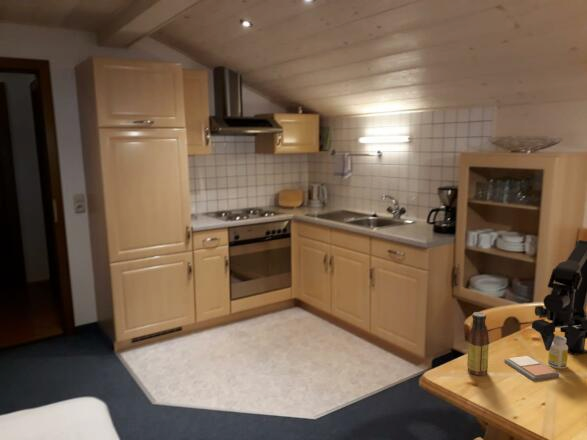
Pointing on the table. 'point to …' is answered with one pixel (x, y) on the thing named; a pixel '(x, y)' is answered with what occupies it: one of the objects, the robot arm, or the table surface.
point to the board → (531, 368)
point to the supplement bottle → (558, 353)
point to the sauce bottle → (478, 345)
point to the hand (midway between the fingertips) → (558, 348)
